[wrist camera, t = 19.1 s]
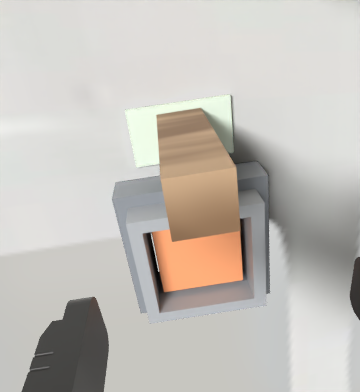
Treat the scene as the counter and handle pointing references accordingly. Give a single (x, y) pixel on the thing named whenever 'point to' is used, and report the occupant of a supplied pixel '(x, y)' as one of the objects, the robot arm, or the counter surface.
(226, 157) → the walnut block
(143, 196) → the grey open square box
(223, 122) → the sage mat
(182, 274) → the button
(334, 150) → the counter surface
